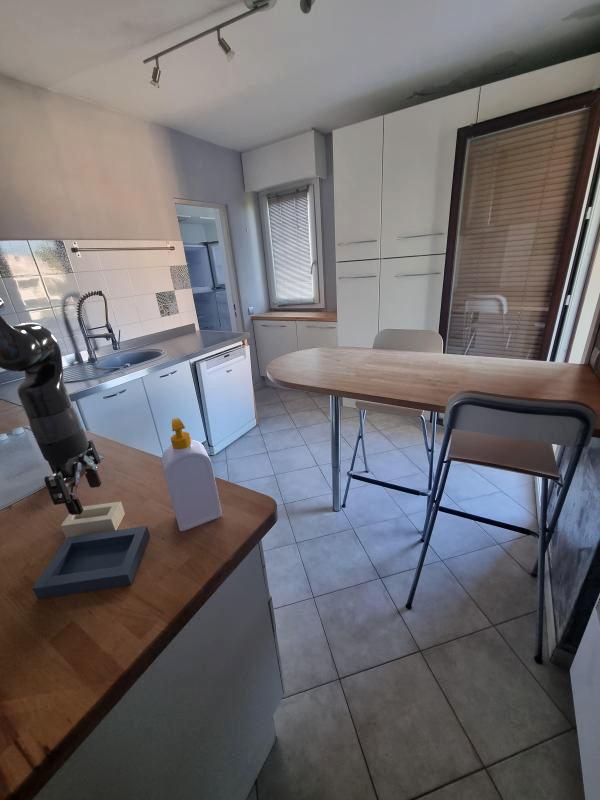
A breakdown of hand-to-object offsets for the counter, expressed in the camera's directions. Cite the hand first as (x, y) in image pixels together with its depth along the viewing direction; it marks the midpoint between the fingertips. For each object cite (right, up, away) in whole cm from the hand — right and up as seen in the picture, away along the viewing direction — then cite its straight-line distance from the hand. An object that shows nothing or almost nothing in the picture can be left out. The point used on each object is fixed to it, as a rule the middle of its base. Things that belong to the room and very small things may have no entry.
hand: (87, 499), depth 70 cm
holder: (+7, -10, -7) cm, 14 cm away
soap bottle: (+22, -5, +4) cm, 23 cm away
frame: (0, -7, +3) cm, 7 cm away
